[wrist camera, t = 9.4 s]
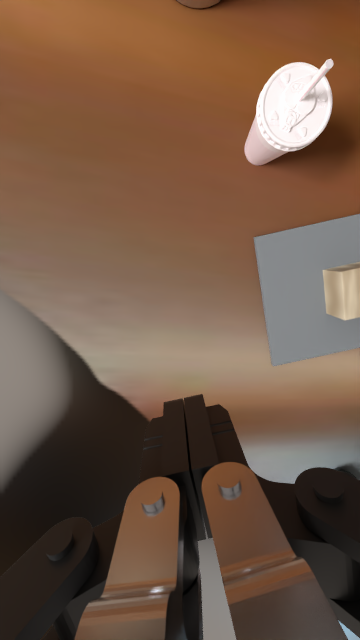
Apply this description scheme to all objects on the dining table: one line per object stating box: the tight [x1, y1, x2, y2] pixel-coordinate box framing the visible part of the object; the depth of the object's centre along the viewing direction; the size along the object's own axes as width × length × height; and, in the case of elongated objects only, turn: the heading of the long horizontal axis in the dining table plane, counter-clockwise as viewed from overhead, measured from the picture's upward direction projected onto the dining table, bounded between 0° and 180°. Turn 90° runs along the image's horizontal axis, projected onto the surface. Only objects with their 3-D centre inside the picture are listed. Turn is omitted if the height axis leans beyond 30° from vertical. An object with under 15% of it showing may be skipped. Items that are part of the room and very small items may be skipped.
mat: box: [254, 214, 360, 366], centre depth 37 cm, size 24×18×1 cm
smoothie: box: [245, 59, 333, 165], centre depth 26 cm, size 6×6×14 cm
